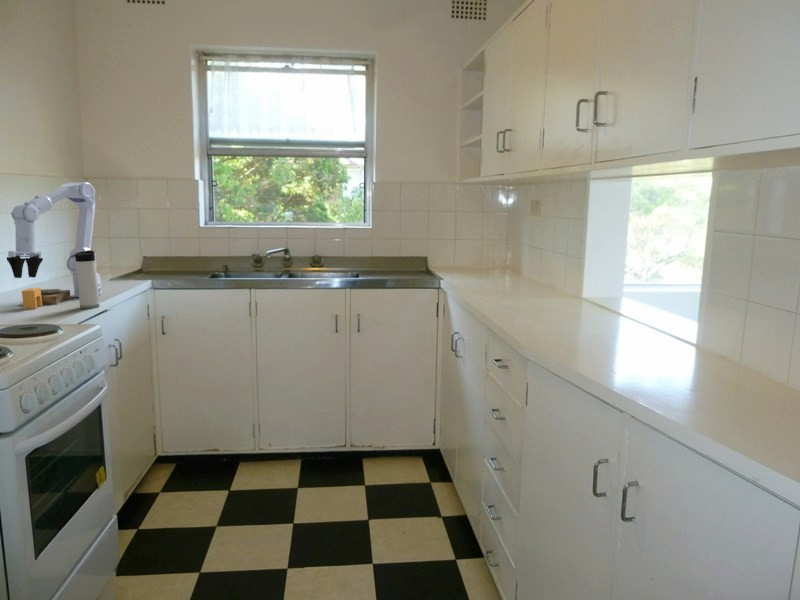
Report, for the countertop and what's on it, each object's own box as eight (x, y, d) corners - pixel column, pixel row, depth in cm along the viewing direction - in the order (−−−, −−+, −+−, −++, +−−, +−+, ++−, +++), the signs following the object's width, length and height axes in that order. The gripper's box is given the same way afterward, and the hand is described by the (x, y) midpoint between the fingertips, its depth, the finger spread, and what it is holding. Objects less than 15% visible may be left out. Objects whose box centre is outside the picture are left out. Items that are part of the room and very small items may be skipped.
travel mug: (103, 305, 221) (98, 250, 217) (93, 308, 214) (87, 252, 211) (87, 305, 221) (82, 250, 218) (76, 308, 215) (70, 252, 211)
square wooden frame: (70, 297, 237) (69, 285, 236) (56, 304, 223) (55, 291, 222) (39, 298, 235) (38, 286, 234) (24, 305, 221) (22, 292, 221)
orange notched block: (42, 305, 220) (40, 288, 219) (36, 308, 215) (34, 290, 214) (30, 306, 220) (28, 288, 219) (23, 309, 214) (21, 290, 213)
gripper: (22, 238, 208) (22, 278, 209) (49, 240, 222) (49, 277, 223) (2, 238, 208) (2, 277, 209) (30, 239, 223) (30, 276, 224)
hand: (25, 277), depth 216 cm, fingers open, 7 cm apart
